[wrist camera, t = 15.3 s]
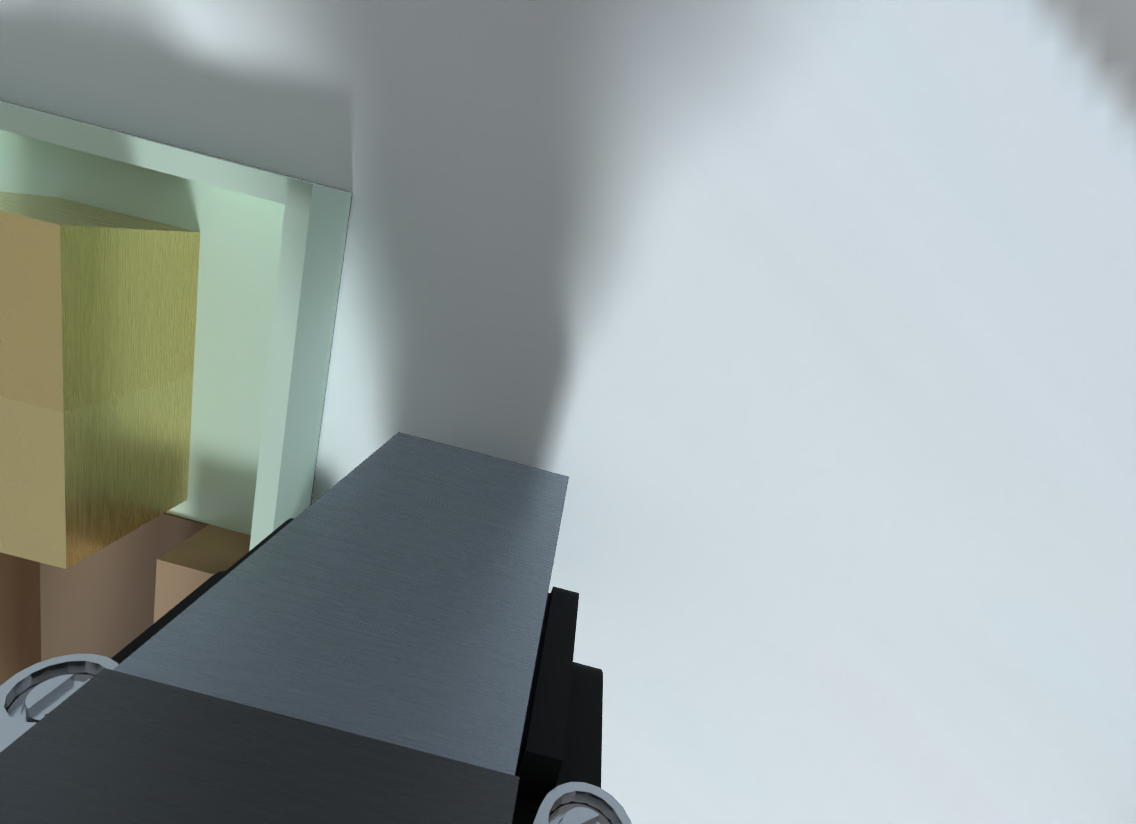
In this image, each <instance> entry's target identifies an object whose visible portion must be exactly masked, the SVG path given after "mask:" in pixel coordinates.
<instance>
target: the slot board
mask: <svg viewBox="0 0 1136 824" xmlns="http://www.w3.org/2000/svg"><path fill="white" fill-rule="evenodd" d="M250 539H251V535H248V534H244V533H240V532H236V531H233V530H229V529H225V528H222V527H218V526H214V525H210V524H207V523H203V522H199V521H196V520H192V519H188V518H184V517H181V516H177V515H173V514H170V513H166V512H165V513H163V514H162V515H160V516H158V517H156V518H155V519H153V520H151V521H149V522H148V523H146V524H144V525H142V526H141V527H139V528H137V529H135V530H134V531H132V532H130V533H129V534H127V535H125V536H123V537H122V538H120V539H118V540H116V541H115V542H113V543H111V544H109V545H108V546H106V547H104V548H102V549H101V550H99V551H97V552H95V553H94V554H92V555H90V556H88V557H87V558H85V559H83V560H81V561H80V562H78V563H76V564H75V565H73V566H71V567H69V568H68V569H64V568H60V567H56V566H52V565H48V564H44V563H40V562H36V561H32V560H29V559H25V558H21V557H17V556H13V555H9V554H5V553H1V552H0V686H1V685H2V684H3V683H5V682H6V681H7V680H8V679H10V678H11V677H12V676H14V675H15V674H16V673H18V672H20V671H22V670H24V669H26V668H28V667H30V666H32V665H34V664H36V663H39V662H42V661H45V660H48V659H51V658H54V657H60V656H65V655H71V654H96V655H101V656H106V657H108V658H110V659H111V658H112V657H113V656H115V655H116V654H117V653H118V652H119V651H121V650H122V649H123V648H124V647H126V646H127V645H128V644H129V643H130V642H132V641H133V640H134V639H135V638H137V637H138V636H139V635H140V634H142V633H143V632H144V631H145V630H146V629H148V628H149V627H150V626H151V625H153V624H154V623H155V622H156V621H157V620H159V619H160V618H161V617H162V616H164V615H165V614H166V613H167V612H169V611H170V610H171V609H172V608H173V607H175V606H176V605H177V604H178V603H180V602H181V601H182V600H183V599H184V598H186V597H187V596H188V595H189V594H191V593H192V592H193V591H194V590H195V589H197V588H198V587H199V586H200V585H202V584H203V583H204V582H205V581H207V580H208V579H209V578H210V577H211V576H213V575H214V574H216V573H218V572H219V571H226V570H227V569H229V568H230V567H231V566H232V565H233V564H235V563H236V562H237V561H238V560H239V559H241V558H242V557H243V556H244V555H245V554H247V553H248V552H249V548H250Z"/></svg>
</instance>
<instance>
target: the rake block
mask: <svg viewBox="0 0 1136 824" xmlns="http://www.w3.org/2000/svg"><path fill="white" fill-rule="evenodd" d="M568 479H569V477H568V476H564V475H560V474H556V473H553V472H549V471H545V470H541V469H537V468H534V467H530V466H526V465H522V464H518V463H515V462H511V461H507V460H503V459H499V458H496V457H492V456H488V455H484V454H480V453H476V452H473V451H469V450H465V449H461V448H457V447H454V446H450V445H446V444H442V443H438V442H435V441H431V440H427V439H423V438H419V437H415V436H412V435H408V434H404V433H400V432H398V433H397V434H396V435H395V436H393V437H392V438H391V439H390V440H389V441H387V442H386V443H385V444H384V445H383V446H381V447H380V448H379V449H378V450H377V451H375V452H374V453H373V454H372V455H371V456H369V457H368V458H367V459H366V460H365V461H363V462H362V463H361V464H360V465H359V466H357V467H356V468H355V469H354V470H353V471H351V472H350V473H349V474H348V475H347V476H345V477H344V478H343V479H342V480H340V481H339V482H338V483H337V484H336V485H334V486H333V487H332V488H331V489H330V490H328V491H327V492H326V493H325V494H324V495H322V496H321V497H320V498H319V499H318V500H316V501H315V502H314V503H313V504H312V505H310V506H309V507H308V508H307V509H306V510H304V511H303V512H302V513H301V514H300V515H298V516H297V517H296V518H295V519H294V520H292V521H291V522H290V523H289V524H288V525H286V526H285V527H284V528H283V529H282V530H280V531H279V532H278V533H277V534H275V535H274V536H273V537H272V538H271V539H269V540H268V541H267V542H266V543H265V544H263V545H262V546H261V547H260V548H259V549H257V550H256V551H255V552H254V553H253V554H251V555H250V556H249V557H248V558H247V559H245V560H244V561H243V562H242V563H241V564H239V565H238V566H237V567H236V568H235V569H233V570H232V571H231V572H230V573H229V574H227V575H226V576H225V577H224V578H223V579H221V580H220V581H219V582H218V583H217V584H215V585H214V586H213V587H212V588H210V589H209V590H208V591H207V592H206V593H204V594H203V595H202V596H201V597H200V598H198V599H197V600H196V601H195V602H194V603H192V604H191V605H190V606H189V607H188V608H186V609H185V610H184V611H183V612H182V613H180V614H179V615H178V616H177V617H176V618H174V619H173V620H172V621H171V622H170V623H168V624H167V625H166V626H165V627H164V628H162V629H161V630H160V631H159V632H158V633H156V634H155V635H154V636H153V637H152V638H150V639H149V640H148V641H147V642H145V643H144V644H143V645H142V646H141V647H139V648H138V649H137V650H136V651H135V652H133V653H132V654H131V655H130V656H129V657H127V658H126V659H125V660H124V661H123V662H121V663H120V664H119V665H118V666H117V667H115V668H114V669H113V670H111V669H107V668H104V669H102V670H101V671H100V672H99V673H97V674H96V675H95V676H94V677H93V678H91V679H90V680H89V681H88V682H86V683H85V684H84V685H83V686H81V687H80V688H79V689H78V690H77V691H75V692H74V693H73V694H72V695H70V696H69V697H68V698H67V699H65V700H64V701H63V702H62V703H61V704H59V705H58V706H57V707H56V708H54V709H53V710H52V711H51V712H50V713H48V714H47V715H46V716H45V717H43V718H42V719H41V720H40V721H38V722H37V723H36V724H35V725H34V726H32V727H31V728H30V729H29V730H27V731H26V732H25V733H24V734H22V735H21V736H20V737H19V738H18V739H16V740H15V741H14V742H13V743H11V744H10V745H9V746H8V747H6V748H5V749H4V750H3V751H2V752H0V824H512V819H513V814H514V808H515V802H516V796H517V790H518V784H519V779H520V777H518V776H515V772H516V766H517V761H518V755H519V750H520V744H521V739H522V733H523V728H524V722H525V716H526V711H527V705H528V700H529V694H530V689H531V683H532V678H533V672H534V667H535V661H536V656H537V650H538V645H539V639H540V634H541V628H542V623H543V617H544V612H545V606H546V601H547V595H548V590H549V584H550V579H551V573H552V567H553V562H554V556H555V551H556V545H557V540H558V534H559V529H560V523H561V518H562V512H563V507H564V501H565V496H566V490H567V485H568Z"/></svg>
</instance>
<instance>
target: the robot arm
mask: <svg viewBox="0 0 1136 824" xmlns="http://www.w3.org/2000/svg"><path fill="white" fill-rule="evenodd" d="M292 520H294V518H290V519H288V520H286V521H285V522H284V523H283V524H282V525H280V526H279V527H278V528H277V529H276V530H274V531H273V532H272V533H271V534H270V535H268V536H267V537H266V538H265V539H264V540H262V541H261V542H260V543H259V544H258V545H256V546H255V547H254V548H253V549H252V550H250V551H249V552H248V553H247V554H245V555H244V556H243V557H242V558H241V559H239V560H238V561H237V562H236V563H235V564H233V565H232V566H231V567H230V568H229V569H227V570H226V571H219V572H218V573H216V574H214V575H213V576H211V577H210V578H209V579H208V580H207V581H205V582H204V583H203V584H202V585H200V586H199V587H198V588H197V589H195V590H194V591H193V592H192V593H191V594H189V595H188V596H187V597H186V598H184V599H183V600H182V601H181V602H180V603H178V604H177V605H176V606H175V607H173V608H172V609H171V610H170V611H169V612H167V613H166V614H165V615H164V616H162V617H161V618H160V619H159V620H157V621H156V622H155V623H154V624H153V625H151V626H150V627H149V628H148V629H146V630H145V631H144V632H143V633H142V634H140V635H139V636H138V637H137V638H135V639H134V640H133V641H132V642H130V643H129V644H128V645H127V646H126V647H124V648H123V649H122V650H121V651H119V652H118V653H117V654H116V655H115V656H113V657H112V658H111V659H110V658H108V657H106V656H101V655H96V654H71V655H65V656H60V657H54V658H51V659H48V660H45V661H42V662H39V663H36V664H34V665H32V666H30V667H28V668H26V669H24V670H22V671H20V672H18V673H16V674H15V675H14V676H12V677H11V678H10V679H8V680H7V681H6V682H5V683H3V684H2V685H1V686H0V752H2V751H3V750H4V749H5V748H6V747H8V746H9V745H10V744H11V743H13V742H14V741H15V740H16V739H18V738H19V737H20V736H21V735H22V734H24V733H25V732H26V731H27V730H29V729H30V728H31V727H32V726H34V725H35V724H36V723H37V722H38V721H40V720H41V719H42V718H43V717H45V716H46V715H47V714H48V713H50V712H51V711H52V710H53V709H54V708H56V707H57V706H58V705H59V704H61V703H62V702H63V701H64V700H65V699H67V698H68V697H69V696H70V695H72V694H73V693H74V692H75V691H77V690H78V689H79V688H80V687H81V686H83V685H84V684H85V683H86V682H88V681H89V680H90V679H91V678H93V677H94V676H95V675H96V674H97V673H99V672H100V671H101V670H102V669H104V668H107V669H111V670H113V669H114V668H115V667H117V666H118V665H119V664H120V663H121V662H123V661H124V660H125V659H126V658H127V657H129V656H130V655H131V654H132V653H133V652H135V651H136V650H137V649H138V648H139V647H141V646H142V645H143V644H144V643H145V642H147V641H148V640H149V639H150V638H152V637H153V636H154V635H155V634H156V633H158V632H159V631H160V630H161V629H162V628H164V627H165V626H166V625H167V624H168V623H170V622H171V621H172V620H173V619H174V618H176V617H177V616H178V615H179V614H180V613H182V612H183V611H184V610H185V609H186V608H188V607H189V606H190V605H191V604H192V603H194V602H195V601H196V600H197V599H198V598H200V597H201V596H202V595H203V594H204V593H206V592H207V591H208V590H209V589H210V588H212V587H213V586H214V585H215V584H217V583H218V582H219V581H220V580H221V579H223V578H224V577H225V576H226V575H227V574H229V573H230V572H231V571H232V570H233V569H235V568H236V567H237V566H238V565H239V564H241V563H242V562H243V561H244V560H245V559H247V558H248V557H249V556H250V555H251V554H253V553H254V552H255V551H256V550H257V549H259V548H260V547H261V546H262V545H263V544H265V543H266V542H267V541H268V540H269V539H271V538H272V537H273V536H274V535H275V534H277V533H278V532H279V531H280V530H282V529H283V528H284V527H285V526H286V525H288V524H289V523H290V522H291V521H292ZM578 599H579V593H576V592H572V591H568V590H564V589H561V588H557V587H553V588H552V591H551V593H548V595H547V601H546V606H545V612H544V617H543V623H542V628H541V634H540V639H539V645H538V650H537V656H536V661H535V667H534V672H533V678H532V683H531V689H530V694H529V700H528V705H527V711H526V716H525V722H524V728H523V733H522V739H521V744H520V750H519V755H518V761H517V766H516V772H515V776H518V777H520V779H519V784H518V790H517V796H516V802H515V808H514V814H513V819H512V824H631V821H630V819H629V817H628V815H627V814H626V812H625V810H624V808H623V807H622V806H621V805H620V804H619V803H618V801H617V800H616V799H615V798H614V797H613V796H612V795H610V794H609V793H607V792H606V791H604V790H603V789H601V751H602V698H603V672H602V670H601V669H597V668H594V667H590V666H586V665H582V664H579V663H575V662H573V653H574V642H575V631H576V621H577V610H578Z"/></svg>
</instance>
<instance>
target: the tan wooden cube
mask: <svg viewBox="0 0 1136 824" xmlns="http://www.w3.org/2000/svg"><path fill="white" fill-rule="evenodd" d="M199 248H200V232H196V231H192V230H188V229H184V228H180V227H176V226H172V225H168V224H164V223H160V222H156V221H152V220H148V219H144V218H140V217H136V216H132V215H127V214H123V213H119V212H115V211H111V210H107V209H103V208H99V207H95V206H91V205H87V204H83V203H79V202H75V201H71V200H67V199H63V198H59V197H52V196H42V195H32V194H22V193H12V192H2V191H0V397H4V398H8V399H12V400H16V401H20V402H24V403H28V404H32V405H36V406H40V407H44V408H48V409H52V410H56V411H59V412H63V413H64V412H67V411H70V410H74V409H77V408H81V407H84V406H88V405H91V404H95V403H98V402H102V401H105V400H109V399H112V398H116V397H119V396H123V395H126V394H130V393H133V392H137V391H140V390H143V389H147V388H150V387H154V386H157V385H161V384H164V383H168V382H171V381H175V380H178V379H182V378H185V377H189V376H192V375H193V372H194V352H195V331H196V310H197V290H198V269H199Z"/></svg>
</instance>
